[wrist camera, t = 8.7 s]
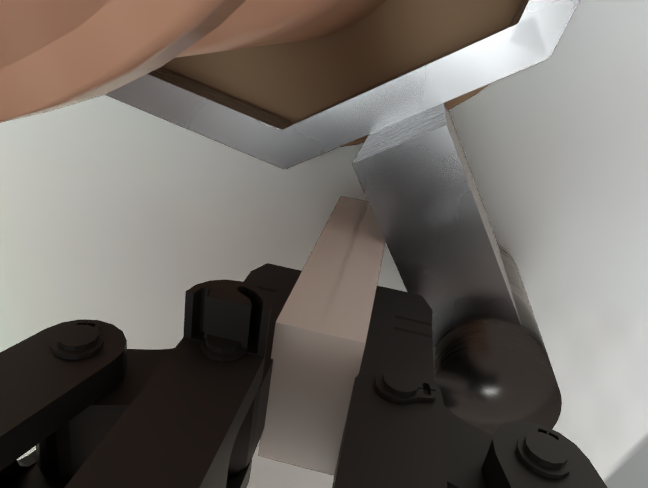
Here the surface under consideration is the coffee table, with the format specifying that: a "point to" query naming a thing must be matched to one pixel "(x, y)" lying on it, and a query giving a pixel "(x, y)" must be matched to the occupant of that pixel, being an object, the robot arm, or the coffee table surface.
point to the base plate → (347, 56)
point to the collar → (417, 203)
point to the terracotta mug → (139, 40)
